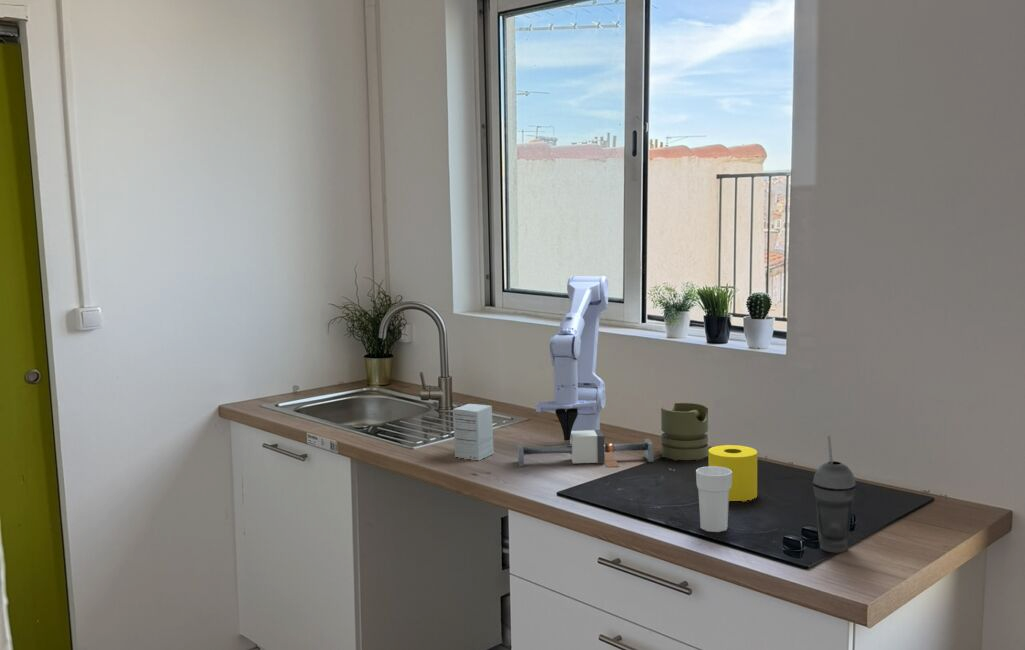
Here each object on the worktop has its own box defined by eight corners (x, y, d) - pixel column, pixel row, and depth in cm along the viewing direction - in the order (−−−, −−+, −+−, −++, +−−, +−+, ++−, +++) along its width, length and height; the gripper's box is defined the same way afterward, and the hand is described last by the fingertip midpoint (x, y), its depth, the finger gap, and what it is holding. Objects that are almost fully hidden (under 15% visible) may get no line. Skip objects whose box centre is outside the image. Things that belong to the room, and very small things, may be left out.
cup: (692, 522, 180) (692, 467, 179) (725, 520, 180) (725, 465, 179) (701, 534, 173) (701, 476, 172) (736, 532, 174) (736, 475, 173)
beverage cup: (838, 558, 160) (840, 444, 157) (803, 547, 165) (804, 437, 163) (863, 548, 164) (865, 437, 161) (828, 537, 170) (829, 430, 167)
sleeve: (572, 463, 223) (572, 436, 222) (570, 456, 229) (569, 431, 228) (597, 462, 223) (597, 435, 222) (594, 456, 229) (594, 430, 228)
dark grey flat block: (597, 462, 223) (597, 436, 222) (594, 455, 229) (594, 429, 229) (604, 462, 223) (604, 436, 222) (600, 455, 229) (600, 429, 229)
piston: (717, 406, 228) (690, 414, 220) (717, 454, 230) (691, 463, 222) (678, 400, 236) (651, 408, 228) (678, 447, 238) (652, 455, 230)
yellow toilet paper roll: (707, 487, 203) (707, 444, 202) (755, 488, 201) (755, 445, 200) (709, 501, 193) (709, 456, 192) (759, 502, 191) (759, 457, 190)
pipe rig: (519, 470, 220) (518, 451, 219) (517, 458, 231) (517, 440, 230) (655, 465, 221) (655, 446, 220) (647, 453, 232) (647, 435, 231)
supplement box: (470, 451, 239) (468, 402, 238) (494, 454, 235) (493, 405, 234) (453, 458, 233) (451, 408, 231) (478, 461, 229) (476, 411, 228)
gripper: (536, 388, 219) (538, 444, 221) (597, 386, 220) (598, 442, 221) (534, 383, 226) (536, 437, 228) (594, 381, 227) (595, 435, 228)
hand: (566, 439), depth 225 cm, fingers closed
